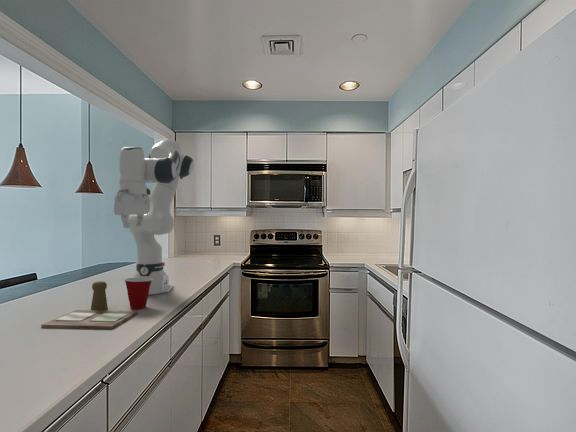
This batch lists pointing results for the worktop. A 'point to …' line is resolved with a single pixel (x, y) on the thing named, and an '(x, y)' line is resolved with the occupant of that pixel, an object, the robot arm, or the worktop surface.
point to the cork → (99, 296)
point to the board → (90, 319)
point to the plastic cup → (138, 291)
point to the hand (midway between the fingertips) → (133, 226)
